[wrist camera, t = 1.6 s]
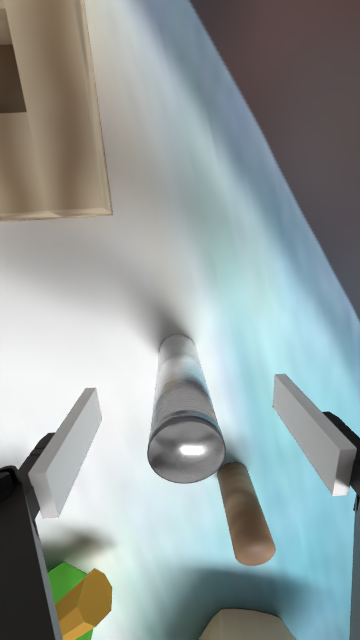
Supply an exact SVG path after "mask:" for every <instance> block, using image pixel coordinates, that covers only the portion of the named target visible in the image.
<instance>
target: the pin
mask: <svg viewBox="0 0 360 640" xmlns="http://www.w3.org/2000/svg"><path fill="white" fill-rule="evenodd" d="M225 451H226V449H225V443H224V440H223V436H222V433H221V430H220V428H219V426H218V423H217V419H216V416H215V412H214V409H213V405H212V402H211V398H210V395H209V391H208V388H207V385H206V381H205V378H204V374H203V371H202V367H201V364H200V360H199V357H198V353H197V350H196V347H195V344H194V343H193V341H192V340H191V339H190V338H188V337H186V336H184V335H173V336H170V337H168V338H167V339H165V340H164V341H163V343H162V344H161V347H160V352H159V361H158V370H157V379H156V388H155V397H154V406H153V415H152V424H151V432H150V436H149V443H148V452H147V456H148V461H149V464H150V466H151V468H152V469H153V470H154V472H155V473H157V474H158V475H159V476H160V477H162V478H164V479H166V480H168V481H171V482H175V483H194V482H198V481H201V480H204V479H206V478H208V477H209V476H211V475H212V474H213V473H215V472H216V471H217V470H218V469H219V467H220V466H221V464H222V463H223V460H224V458H225Z"/></svg>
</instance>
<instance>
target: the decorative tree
mask: <svg viewBox="0 0 360 640" xmlns="http://www.w3.org/2000/svg"><path fill="white" fill-rule="evenodd" d="M48 577H49V581H50V586H51V590H52V594H53V599H54V603H55V607H56V612H57V616H58V620H59V624H60V629H61V633H62V637H63V640H91V637H92V632H93V628H94V627H96V626H97V625H98V624H99V623H100V622H101V621H102V620H103V619H104V617H105V616H106V615H107V614H108V613H109V612H110V611H111V604H112V586H111V585H110V583H109V581H108V579H107V578H106V576H105V574H104V573H102V572H100V571H99V570H97V569H95V568H94V569H93V570H92V571H91V572H90V573H89V574H88V575H87V574H86V573H84V572H82V571H80V570H78V569H76V568H74V567H72V566H71V565H69V564H67V563H65V562H62V563H61V564H60V565H58V566H57V567H55V568H54V569H52V570H51V571H49V572H48Z"/></svg>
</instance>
